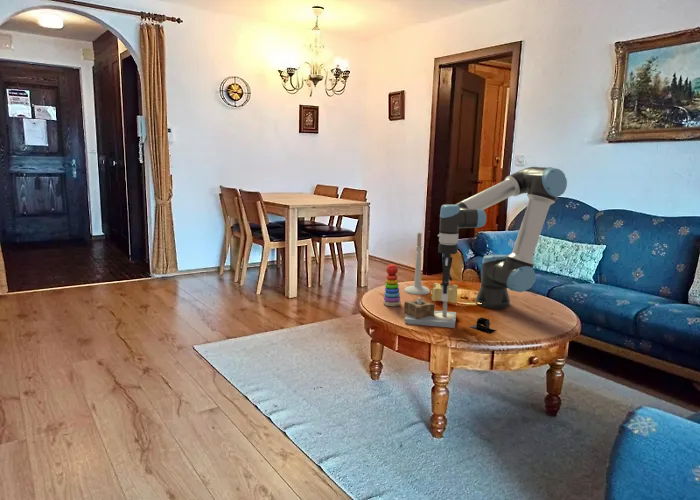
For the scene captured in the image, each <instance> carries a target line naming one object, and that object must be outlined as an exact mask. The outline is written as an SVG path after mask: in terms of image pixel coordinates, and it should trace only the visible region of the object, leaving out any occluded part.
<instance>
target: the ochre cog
mask: <svg viewBox="0 0 700 500" xmlns="http://www.w3.org/2000/svg"><path fill="white" fill-rule="evenodd" d="M440 284H441V283H438V282H434V283H433V287H432V289H431V301H433V302H436V301H437V302H438V301H439V302H442V301H441V293H442V285H440ZM458 287H459V286H458V285H457V284H449V292H448V301H447V303H448V302H449V303H450V302H451V303H453V304H454V303H455V304H456V303H457V298H458V289H459V288H458Z"/></svg>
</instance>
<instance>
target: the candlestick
mask: <svg viewBox="0 0 700 500" xmlns="http://www.w3.org/2000/svg"><path fill="white" fill-rule="evenodd" d="M416 235H417V236H416V237H417V241H416V246H414V247H415V248H416V257H415V258H416V260H415V269H414V270H415V271H414V282H413V285H409V286H406V287H405V288H404V292H405V293H406V294H410V295H416V296H417V295H419V296H422V295H423V296H424V295H428V294H430V293H431V289H430V288H428V287H427V286H424V285H422V255H421V254H422V253H421V251H422V248H423V245H422V232H417V234H416Z"/></svg>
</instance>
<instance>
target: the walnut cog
mask: <svg viewBox="0 0 700 500" xmlns="http://www.w3.org/2000/svg"><path fill="white" fill-rule="evenodd" d="M403 305H404V307H403V308H404V309H403V314H404V315H407V314H409V315H411V316H413V317H415V318H416V319H420V318H423V317H427V316H434V310H435V305H436V304H435V303H433V302H432V303H431V302H428V301H425V300H424V299H423V298H422V304H420V305H418V304H417V299H416V300H415V299H414V300H411V301H410V300H409V301H407V300H405V301H404V304H403Z"/></svg>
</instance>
